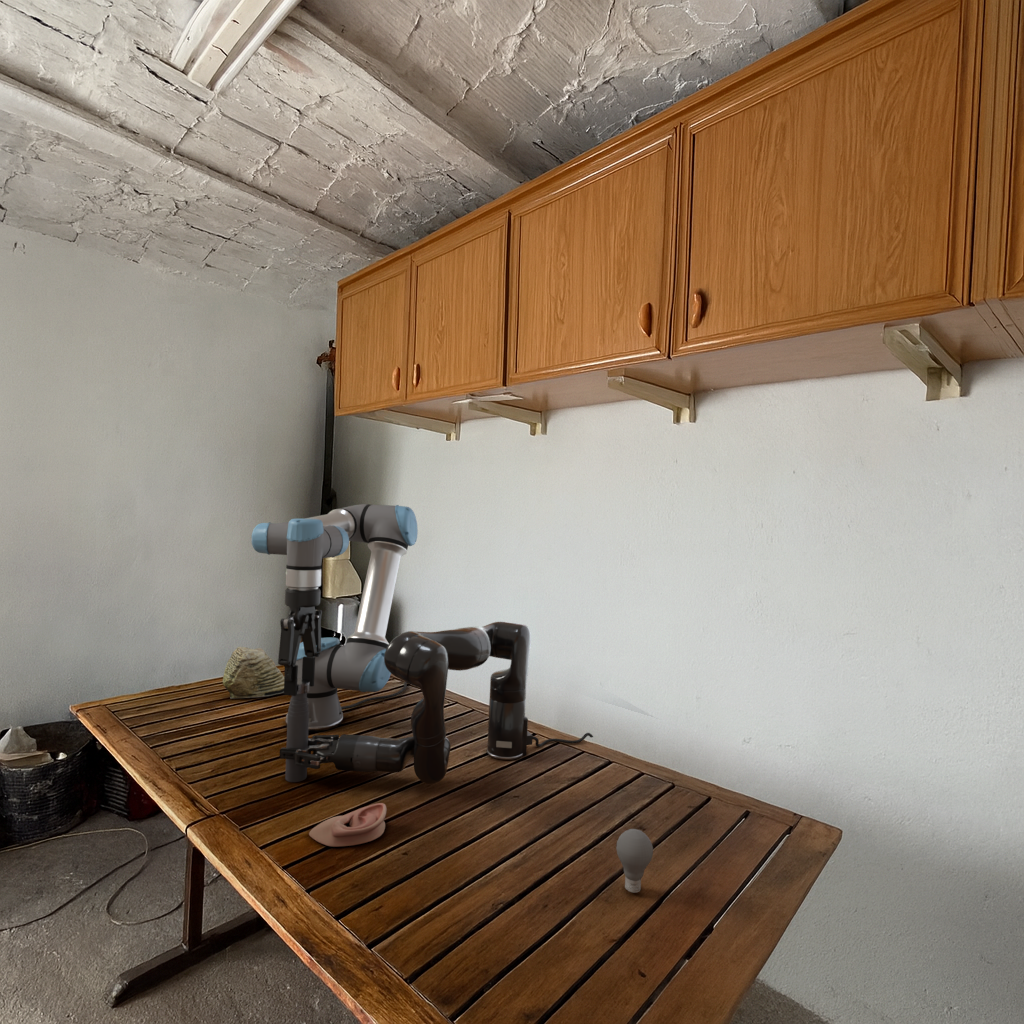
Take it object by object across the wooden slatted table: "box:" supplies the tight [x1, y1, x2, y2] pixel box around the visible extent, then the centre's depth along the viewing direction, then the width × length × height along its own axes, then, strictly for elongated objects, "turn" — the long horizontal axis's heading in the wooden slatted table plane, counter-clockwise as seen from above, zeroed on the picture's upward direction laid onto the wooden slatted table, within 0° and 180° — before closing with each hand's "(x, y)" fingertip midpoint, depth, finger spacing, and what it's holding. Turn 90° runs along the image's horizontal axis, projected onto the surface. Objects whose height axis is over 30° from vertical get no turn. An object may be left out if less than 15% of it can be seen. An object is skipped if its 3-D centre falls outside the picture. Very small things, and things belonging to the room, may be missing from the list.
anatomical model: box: [308, 802, 387, 848], centre depth 120 cm, size 13×4×12 cm
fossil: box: [222, 646, 284, 699], centre depth 198 cm, size 9×18×15 cm, turn 132°
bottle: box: [284, 693, 309, 783], centre depth 142 cm, size 5×5×21 cm
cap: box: [297, 679, 310, 694], centre depth 142 cm, size 4×4×2 cm
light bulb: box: [615, 828, 654, 894], centre depth 106 cm, size 6×6×10 cm
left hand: (299, 689), depth 142 cm, fingers open, 7 cm apart
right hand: (285, 748), depth 142 cm, fingers closed on bottle, 4 cm apart
